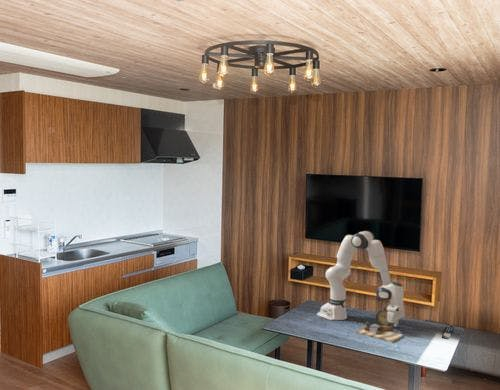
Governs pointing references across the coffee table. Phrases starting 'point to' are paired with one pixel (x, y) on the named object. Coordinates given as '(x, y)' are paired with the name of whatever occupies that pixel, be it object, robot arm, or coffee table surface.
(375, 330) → the keeper
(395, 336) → the base board
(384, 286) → the robot arm
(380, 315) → the alarm clock
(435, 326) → the coffee table surface
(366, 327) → the link
